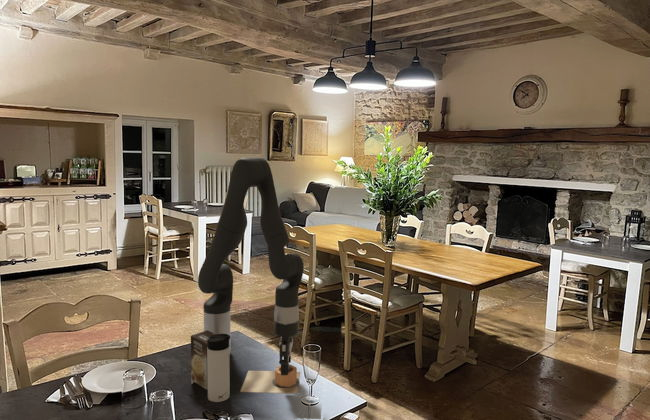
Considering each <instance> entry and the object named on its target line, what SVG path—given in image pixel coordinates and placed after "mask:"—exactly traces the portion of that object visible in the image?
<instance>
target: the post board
mask: <svg viewBox="0 0 650 420" xmlns="http://www.w3.org/2000/svg"><path fill="white" fill-rule="evenodd" d="M290 365H291V364H290V363H288V373H289V372H290ZM300 377H301V371H297V380H296V384H294V385H292V386H290V387H287V386H279V385H277V384H276V383H275V370H272V371H271V370H248V371H247V373H246V376H245V378H244V381H243V383H242V386H241V388H240V390H239V393H264V394H265V393H266V394H268V393H269V394H295V395H296V394H297V393H298V390H299V384H300Z"/></svg>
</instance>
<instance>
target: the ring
mask: <svg viewBox="0 0 650 420" xmlns="http://www.w3.org/2000/svg"><path fill="white" fill-rule="evenodd" d="M289 365H290V372H289V373H288V375H281V365H278V366H275V370H274V371H275V383H276V384H277V385H279V386H287V387H290V386H292V385H294V384H296V380H297V372H298V368H297V367H296V366H294V365H293V364H289Z"/></svg>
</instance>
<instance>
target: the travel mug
mask: <svg viewBox="0 0 650 420" xmlns="http://www.w3.org/2000/svg"><path fill="white" fill-rule="evenodd" d="M229 339H230V335H228V334H216V335H213V336H211V337H210V338H208V340H207V344H208V345H207V371H208V389H207V399H208V401H210V402H214V403H219V402H223V401H227V400H228V399H229V398H230V396H231V395H230V392H231V391H230V386H231V383H230V380H231V379H230V377H231V376H230V367H231V366H230V354H229Z"/></svg>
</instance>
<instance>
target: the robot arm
mask: <svg viewBox="0 0 650 420" xmlns="http://www.w3.org/2000/svg"><path fill="white" fill-rule="evenodd" d="M271 169H272V168H271V166H270V163H268V161H267V160H266V159H265V158H263V157H241V158H238V159H237V160H236V161H235V163H234V164H233V166H232V169H231V173H230V178H229V181H228V183H229V184H228V188H227V190H226V191H227V192H226V197H225V199H224V203H223V207H222V210H221V213H220V216H219V219H218V222H217V224H216V228H215V232H214V235H213V238H212V240H211V243H210V247H209V249H208V252H207V254H206V256H205V258H204V261H203V262H202V265H201V267H200V269H199V271H198V276H197V286H198V288H199V290H200V292H202V293H203V294H205V295H206V294H209V295H210V294H212V295H211V296H210V297H209V298H208V299H207V300H206V301H205V302H203V332H204V331H207V330H208V331H210V332H212V333H214V334H228V335H230V339H229V355H231V351H232V350H231V345H232V344H231V342H232V341H231V337H232V335H231V334H232V333H231V306H232V303H233V294H234V292H233V290H234V275H233V271H232V268H231V267H230V266H229V265H228V264H227V263H226V264H225V263H224V262H225V261H226V260H227V258H228V257H230V255H231V254H232V253H234V251H235V250H236V249H237V248H238V247H239V245H240V244H241V243H242V240H243V238H244V235H245V233H246V229H247V226H248V218H247V217H248V216H247V212H246V210H245V204H244V203H245V198H246V195H247V193H248V191H249V190H250V188H255V187H256V188H257V190H258V193H259V194H260V199H261V210H260V217H259V218H260V220H259V221H260V228H261V229H260V230H261V231H262V235H263V237H264V240H265V243H266V246H267V256H268V265H269V270H270V272H271V274H272V275H273V276H274V277H275V278H276V279H277V280H281V281H282V282H281V283H280V284H279V285H277V286H276V288H275V293H274V294H275V296H274V303H275V304H274V305H275V306H274V313H273V314H274V315H273V317H274V318H273V319H274V320H273V321H274V322H273V328H274V329H273V331H274V335H276V336H277V337H279V339H280V340H279V342H278V346H279V352H278V353H279V363H278V364H279V365H280V366H281V375H288V363H289V364H290V363H291V360H292V357H291V356H292V350H293V344H294V337H295V336H297V335H298V334H299V326H300V325H299V322H300V320H299V319H300V318H299V317H300V315H299V313H300V311H299V290H300V286H301V283H302V279H303V275H304V269H305V267H304V261H303V258H302V257H301V255H299V254H298V253H296V252H291V253H287V254H285V248H286V246H288V245H289V244H290V237H289V234H288V232H287V231H288V230H287V229H286V226H285V223H284V221H283V220H284V219H283V217H282V215H281V212H280V211H281V210H280V207H279V202H278V197H277V192H276V187H275V182H274V181H275V180H274V178H273V171H272V170H271Z"/></svg>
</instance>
